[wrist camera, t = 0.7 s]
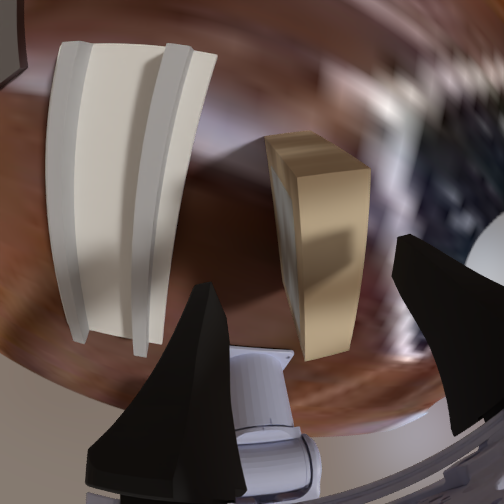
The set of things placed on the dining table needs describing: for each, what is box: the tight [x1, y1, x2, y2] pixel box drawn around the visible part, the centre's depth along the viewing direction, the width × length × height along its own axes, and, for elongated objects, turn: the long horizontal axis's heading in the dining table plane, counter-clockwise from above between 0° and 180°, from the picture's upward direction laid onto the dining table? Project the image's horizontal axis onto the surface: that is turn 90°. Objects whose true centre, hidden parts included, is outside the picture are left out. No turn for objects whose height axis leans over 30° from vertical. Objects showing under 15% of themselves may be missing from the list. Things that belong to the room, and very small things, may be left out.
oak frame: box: [264, 131, 371, 361], centre depth 16 cm, size 12×3×8 cm, turn 9°
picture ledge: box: [45, 41, 217, 357], centre depth 17 cm, size 24×10×3 cm, turn 164°
